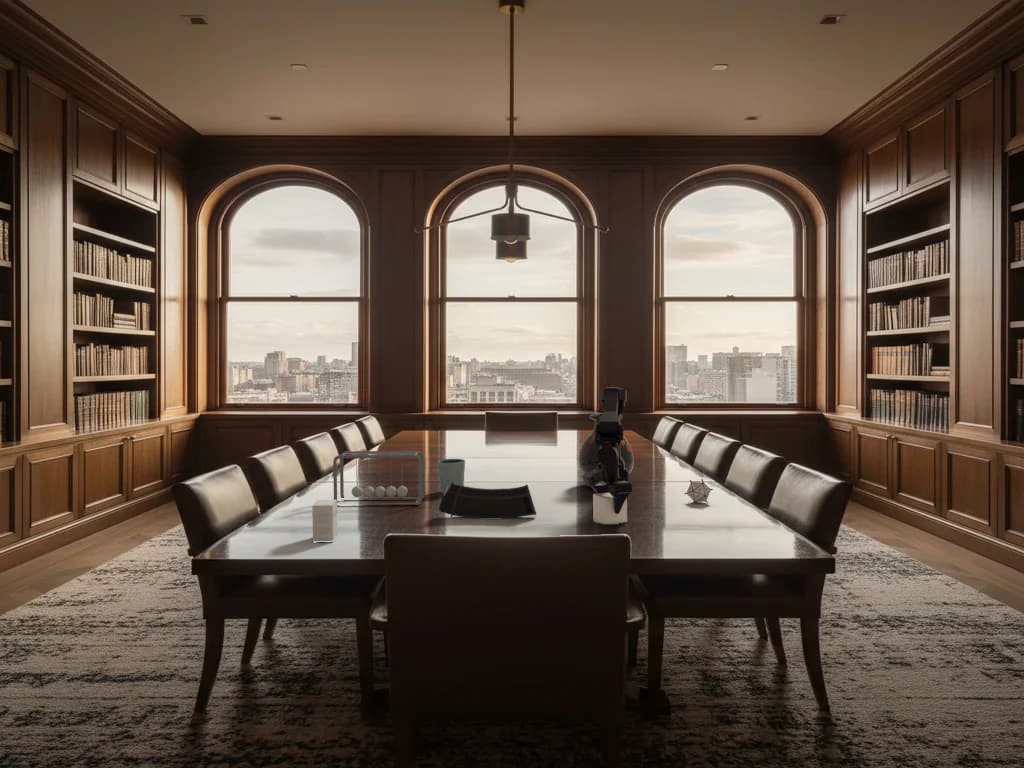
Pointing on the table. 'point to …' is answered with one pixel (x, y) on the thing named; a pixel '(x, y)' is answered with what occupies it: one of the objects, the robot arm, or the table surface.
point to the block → (607, 509)
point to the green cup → (451, 472)
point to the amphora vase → (591, 448)
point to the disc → (606, 523)
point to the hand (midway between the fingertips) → (609, 510)
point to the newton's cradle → (380, 490)
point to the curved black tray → (487, 502)
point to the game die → (698, 491)
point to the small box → (324, 520)
